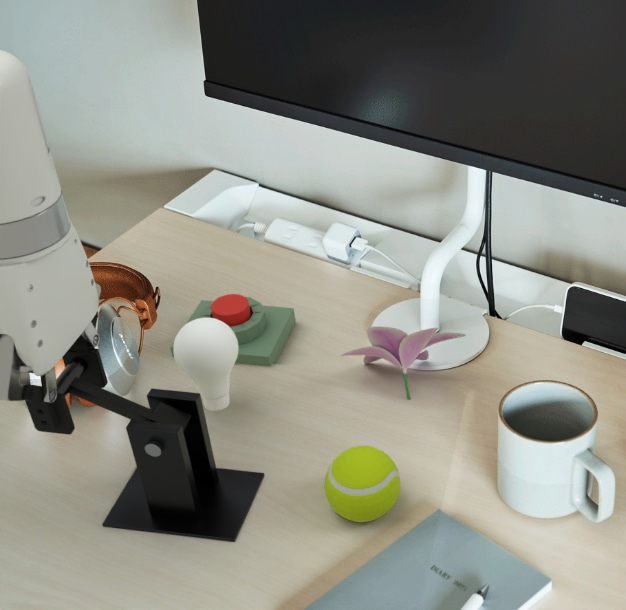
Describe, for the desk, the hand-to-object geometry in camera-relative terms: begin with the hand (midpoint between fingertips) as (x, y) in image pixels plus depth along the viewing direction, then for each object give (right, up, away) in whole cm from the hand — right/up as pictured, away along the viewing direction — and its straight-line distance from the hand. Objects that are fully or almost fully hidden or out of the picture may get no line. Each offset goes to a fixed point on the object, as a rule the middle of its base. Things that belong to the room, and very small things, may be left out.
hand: (72, 405), depth 78 cm
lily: (+26, 0, +20) cm, 33 cm away
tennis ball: (+24, -10, +6) cm, 27 cm away
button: (+7, +7, +23) cm, 26 cm away
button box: (+7, +4, +26) cm, 27 cm away
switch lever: (+4, -1, 0) cm, 4 cm away
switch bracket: (+8, -10, +6) cm, 14 cm away
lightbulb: (+8, -2, +17) cm, 18 cm away
